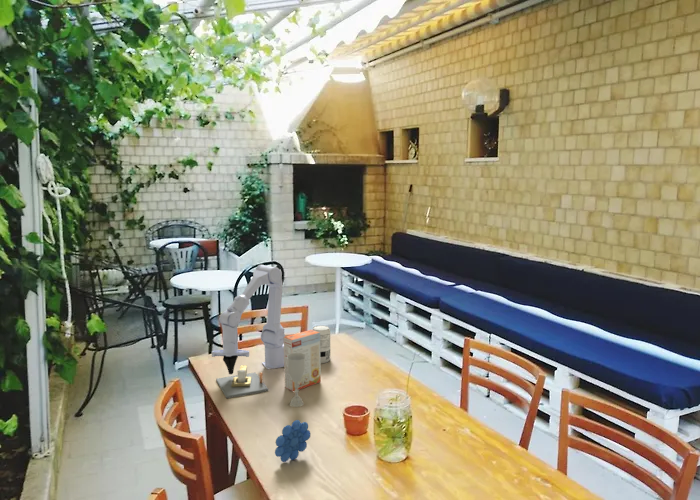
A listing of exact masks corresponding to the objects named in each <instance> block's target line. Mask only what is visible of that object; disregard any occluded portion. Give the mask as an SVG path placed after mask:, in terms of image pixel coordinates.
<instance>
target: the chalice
mask: <svg viewBox="0 0 700 500" xmlns="http://www.w3.org/2000/svg"><path fill="white" fill-rule="evenodd" d="M305 357H306V355H305V354H302V353H293V354H289V355H288V356H287V359H288V370H289V373H290V376H291V378H292V380H293V381H295V386H294V387H295V391H294V396H292V398H291V400H290V403H289V406H290V407H294V408H300V407H303V405H305V404H304V402H303V399H302V397H300V395H299V392H300V391H299V390H298V387H299V386H298V381H300V380H301V377H302V375H303V373H304V369H305Z"/></svg>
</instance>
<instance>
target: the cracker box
mask: <svg viewBox="0 0 700 500" xmlns="http://www.w3.org/2000/svg"><path fill="white" fill-rule="evenodd" d="M293 353H302V354H305V355H306V357H305V369H304V373H303V375H302V377H301V380H300V381H298V386H299V387H298V390H303V389H305V388H308V387H310V386H311V387H312V386H313V385H317V384H319V383H321V382H322V381H321V377H322V375H321V374H322V373H321V369H322V368H321V364H322V363H321V361H320V332H317V331H314V330H313V329H309V330H305V331H301V332H298V333H293V334H290V335H289V334H288V335H285V337H284V367H283V368H284V388H285V389H288V390H289V391H292V392H294V391H295V387H294V386H295V381H293V380H292V378H291V376H290V373H289V370H288V359H287V356H288V355H289V354H293ZM294 393H295V392H294Z"/></svg>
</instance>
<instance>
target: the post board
mask: <svg viewBox="0 0 700 500" xmlns="http://www.w3.org/2000/svg"><path fill="white" fill-rule="evenodd" d="M258 374H259V375H258ZM258 374H257V373H256V372H249V373H248V372H247V376H246V377H251V378H252V379H251V384H250V386H239V387H232V381H233V377H238V381H236V383H245V382H247V380H246V377H245V370H237V375H230V376H225V377H224V376H223V377H217V378H215V380H216V383H217V385H218V387H219V388H220V389H221V392H222V394H223V396H225V398H226V399H232V398H237V397H242V396H243V397H244V396H249V395H253V394H259V393H265V392H269V388H268V386H267V385H266V384H265V383H264V381H263V380H264V379H263V378H264V377H263V375H264V374H263V372H259V373H258Z"/></svg>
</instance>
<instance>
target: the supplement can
mask: <svg viewBox="0 0 700 500" xmlns="http://www.w3.org/2000/svg"><path fill="white" fill-rule="evenodd" d="M312 330H314V331H317V332H320V361H321V364H326V363H328V362H329V361H330V360H331V329H330V327H329V326H327V325H316V326H314V327H313V328H312Z"/></svg>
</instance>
